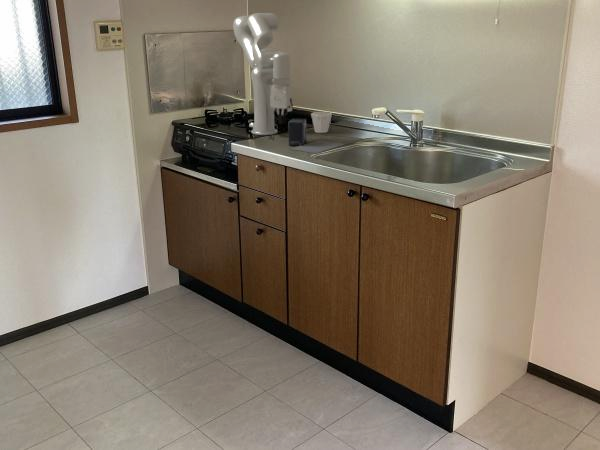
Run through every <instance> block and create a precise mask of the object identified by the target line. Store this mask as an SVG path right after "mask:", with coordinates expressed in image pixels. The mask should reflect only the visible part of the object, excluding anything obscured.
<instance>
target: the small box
mask: <svg viewBox="0 0 600 450" xmlns="http://www.w3.org/2000/svg"><path fill="white" fill-rule="evenodd" d="M287 126H288V127H287V128H288V129H287V130H288V131H287V132H288V146H301V145H305V143H306V142H307V118H292V119H290V120H289V121H288V125H287Z"/></svg>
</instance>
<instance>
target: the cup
mask: <svg viewBox="0 0 600 450" xmlns="http://www.w3.org/2000/svg"><path fill="white" fill-rule="evenodd" d="M332 116H333V113H332V112H328V111H314V112H311V113H310V117H311V119H312V125H313V129H314V133H316V134H327V133H328V132H329V127H330V124H331V119H332Z"/></svg>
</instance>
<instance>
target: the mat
mask: <svg viewBox="0 0 600 450" xmlns="http://www.w3.org/2000/svg"><path fill="white" fill-rule="evenodd" d="M345 145H346V144H345V143H341V142H333V141H327V140H316V141H312V142H308V143H306V144H305V143H304V144H303V145H297V146H295V147H292V148H291V147H290V151H291V150H292V151H297V152H304V153H309V154H315V155H317V154H320V153H322V152H326V151H330V150H334V149H336V148H339V147H343V146H345Z"/></svg>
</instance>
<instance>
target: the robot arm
mask: <svg viewBox="0 0 600 450" xmlns="http://www.w3.org/2000/svg"><path fill="white" fill-rule="evenodd" d="M279 26H280V23H279V18H278V16H277V15H276V14H275V13H272V12H256V13H252V14H250V15H241V16H238V17H236V18H235V19H234V20H233V26H232V27H233V34H234V36H235V39H236V41H237V42H238V44H239V46H240V47H241V48H242V50H243V53H244V55H245V57H246V60H247V62H248V65H249V66H250V68H251V69H252V70H251V73H250V78H251V82H252V89H253V90H252V91H253V114H254V117H253V119H254V120H253V121H254V122H250V123H249V125H248V126H249V128H252V129H251V130H250V131H251V134H253V135H258V136H269V135H270V136H271V135H275V134H278V129H275V112H276V114H277V116H278V117H277V118H278V124H279V125H285V124H286V123H287V115H288V113H289V112H292V111H293V107H294V95H293V88H292V87H293V86H292V85H291V56H290V54H289V53H286V52H283V51H279V50H277V49H275V48H266V47H269V46H270V45H271V44H272V42H273V40H274V34H273V33H275V32H277V31H278V29H279ZM270 87H271V88H270Z"/></svg>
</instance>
